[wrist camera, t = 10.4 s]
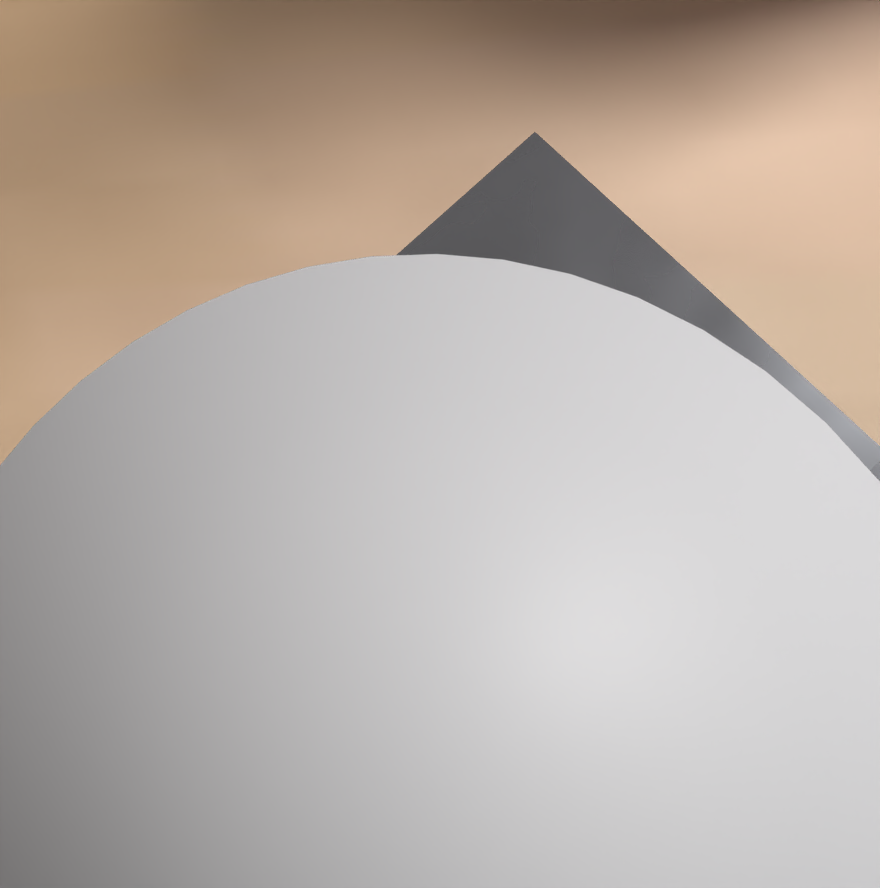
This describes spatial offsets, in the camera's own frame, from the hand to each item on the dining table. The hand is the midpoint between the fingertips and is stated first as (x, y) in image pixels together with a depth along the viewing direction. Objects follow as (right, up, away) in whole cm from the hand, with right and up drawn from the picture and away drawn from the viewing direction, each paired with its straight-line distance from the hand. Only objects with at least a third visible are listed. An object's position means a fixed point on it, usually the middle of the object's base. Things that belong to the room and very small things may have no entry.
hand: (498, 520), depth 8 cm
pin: (+1, -3, +8) cm, 8 cm away
